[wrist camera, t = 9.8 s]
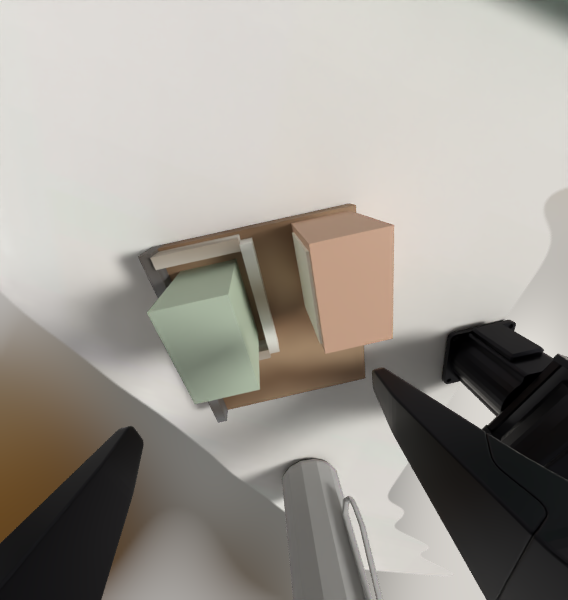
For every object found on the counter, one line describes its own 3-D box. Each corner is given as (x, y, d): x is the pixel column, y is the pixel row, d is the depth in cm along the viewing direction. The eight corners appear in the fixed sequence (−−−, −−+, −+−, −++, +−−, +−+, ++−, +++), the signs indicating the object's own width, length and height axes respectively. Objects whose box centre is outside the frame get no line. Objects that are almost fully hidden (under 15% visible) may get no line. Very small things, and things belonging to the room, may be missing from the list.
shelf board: (360, 369, 25) (372, 389, 22) (219, 401, 25) (216, 425, 22) (349, 203, 18) (364, 207, 15) (150, 247, 17) (133, 258, 15)
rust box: (348, 210, 17) (394, 225, 11) (354, 295, 20) (392, 338, 14) (289, 223, 17) (306, 244, 11) (303, 306, 19) (322, 354, 14)
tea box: (236, 258, 17) (228, 294, 12) (258, 333, 20) (259, 389, 15) (178, 271, 17) (144, 313, 12) (208, 344, 20) (192, 405, 15)
